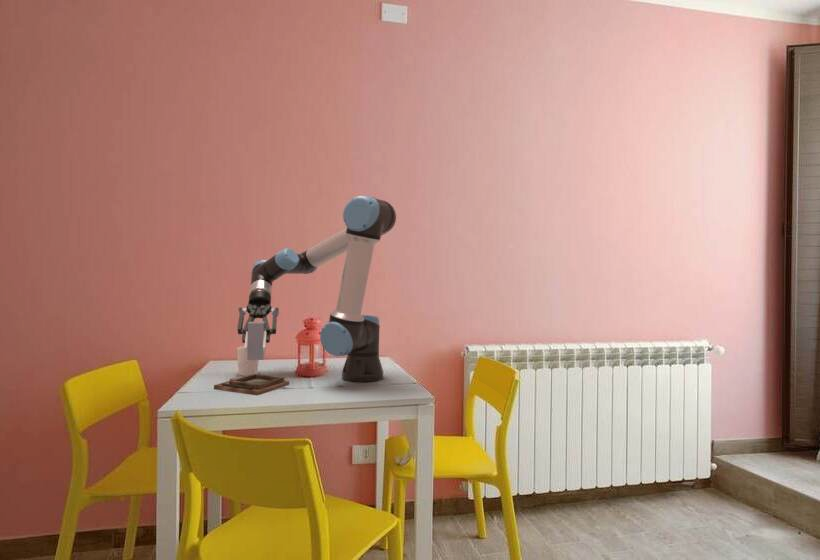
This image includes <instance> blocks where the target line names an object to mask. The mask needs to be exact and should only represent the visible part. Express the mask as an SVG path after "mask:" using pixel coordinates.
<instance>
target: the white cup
mask: <svg viewBox="0 0 820 560" xmlns="http://www.w3.org/2000/svg"><path fill="white" fill-rule="evenodd" d="M244 346H245V345H243V346H238V347H237V348H236V351H237V367H238V369H237V371H238V372H237V373H238V376H240V377H246V376H250V375H253V374H258V372H259V371H258V370H259V361H260V360H247V352H245V349H244Z"/></svg>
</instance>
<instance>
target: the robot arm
mask: <svg viewBox="0 0 820 560" xmlns="http://www.w3.org/2000/svg"><path fill="white" fill-rule="evenodd" d="M342 219H343V222H344V223H345V226H346V228H343V229H342V230H340V231H339V232H337V233H335V234H333V235H332V236H329V237H327V238H326V239H324V240H322V241H319V242H318V243H316V245H313V246H312V247H309V248H308V249H306V250H305V251H303V252H300V253H297V252H296V251H295V250H293V249H291V248H289V247H286V248H284V249H282V250H279V251H278V252H277V253H276V254H275V255H273V256H272V257H270V258H269V259H260V260H257V261H256V262H255V263H253V266H252V269H251V279H250V286H249V287H250V288H249V294H248V295H249V296H248V303H247V306H246V307H242V306H241V307H239V308H238V314H239V316H238V321H237V335H241V336H242V337H241V341H242V343H244V345H243V346H244V349H245V352H247V351H248V323H249V322H255V319H262V322H265V331H264V339H263V352H265V353H267V352H266V351H267V343H269V344H270V342H271V335H276V334H277V321H278V320H277V318H278V316H279V313H280V312H279V307H274V308H273V307H272V305H271V304H272V294H273V293H272V292H273V283H274V282H275V281H276V280H277V279H279V278H281V277H282V276H284V275H291V274H292V275H294V274H295V275H299V274H301V275H309V274H313V273H314V272H316V270H317V269H318V267H321V266H322V265H324V264H325V263H328V262H329V261H331V260H333V259H335V258H336V257H339V256H341V255H343V254H344V253H346V254H345V255H346V256H345V260H344V266H343V271H342V276H341V282H340V287H339V291H338V298H337V301H336V307H335V309H334V310H332V311H331V312H330V313H329V314H330V315H329V320H328V322H327V323H326V324H325V325H324V326H323V327H322V328H321V329H320V334H319V340H320V344H321V346H322V347H323V349H324V351H325V352H327V354H329V355H331V356H334V357H344V356H346V359H345V362H344V365H343V368H342V371H341V379H343V380H344V381H347V380H348V382H354V381H358V382H357V383H364V382H363V381H370V382H375V381H374V380H377V381H380V380H379V379H381V378H383V379H384V369H383V366H382V363H381V360H380V326H381V325H380V319H379V316H376V315H367V314H362V309H363V304H364V299H365V295H366V289H367V284H368V280H369V274H370V270H371V269H370V268H371V264H372V261H373V260H372V259H373V253H374V249H375V245H376V244H377V243H379V242H381V237H382V236H383V235H384V236H385V234H387V233H389V232H390V231H391V230H392V229H393V228H394V227H395V225H396V221H397V214H396V210H395V208H394V207H393V205H391V203H389V202H388V201H386V200H383V199H379V198H376V197H373V196H369V195H368V196H367V195H357V196H354V197H353V198H351V199H349V201H348V202H347V203H346V204H345V206H344V208H343V213H342ZM247 313H248V314H249V315H248V318H247V320H246V322H245V324H244V320H245V316H246V314H247ZM270 313H271V315H272V321H271V322H272V324H271V328H270V325H269V324H270V323H269V321H268V317H267V316H268V315H269V314H270ZM243 326H244V327H243ZM381 380H382V379H381Z"/></svg>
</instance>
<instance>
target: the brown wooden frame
mask: <svg viewBox="0 0 820 560" xmlns="http://www.w3.org/2000/svg"><path fill="white" fill-rule="evenodd" d="M288 384H289V385H290V380H285V377H283V376H282V377H281V376H275V375H267V374H258V373H257V374H253V375H250V376H236V377H232V378H230V379H229V380H228V381H225V382H221V383H217V384H214V385H213V389H214V390H218V389H219V391H224V392H225V391H227V392H234V393H241V394H246V395H247V394H249V395H255V396H259V395H262V394H266V393H268V392H272V391H275V390H278V389H280V388H283V386H284V387H286V385H287V386H289V385H288Z"/></svg>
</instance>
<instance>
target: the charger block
mask: <svg viewBox="0 0 820 560" xmlns="http://www.w3.org/2000/svg"><path fill="white" fill-rule="evenodd" d="M264 331H266V330H265V322H263V321H253V322H249V323H248V351H247V360H259V361H260V360H261V361H263V360H264V359H265V354H266V352H263V339H264Z"/></svg>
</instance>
